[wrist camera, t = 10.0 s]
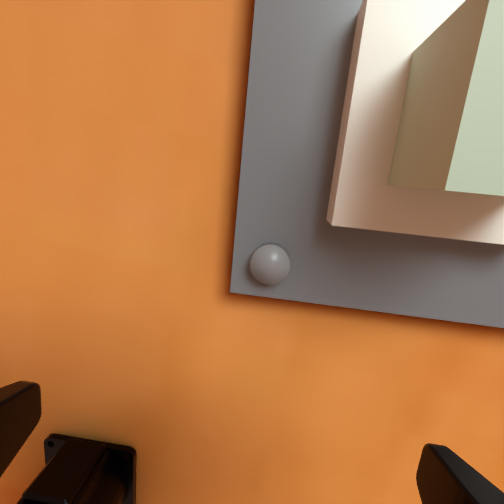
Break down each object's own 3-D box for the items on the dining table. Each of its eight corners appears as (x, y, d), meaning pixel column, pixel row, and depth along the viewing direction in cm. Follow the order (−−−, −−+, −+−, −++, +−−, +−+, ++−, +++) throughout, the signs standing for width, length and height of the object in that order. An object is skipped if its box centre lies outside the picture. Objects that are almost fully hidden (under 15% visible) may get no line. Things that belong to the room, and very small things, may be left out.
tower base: (559, 325, 17) (625, 360, 14) (234, 283, 19) (222, 306, 15) (703, -75, 13) (848, -162, 10) (267, -91, 15) (261, -172, 11)
